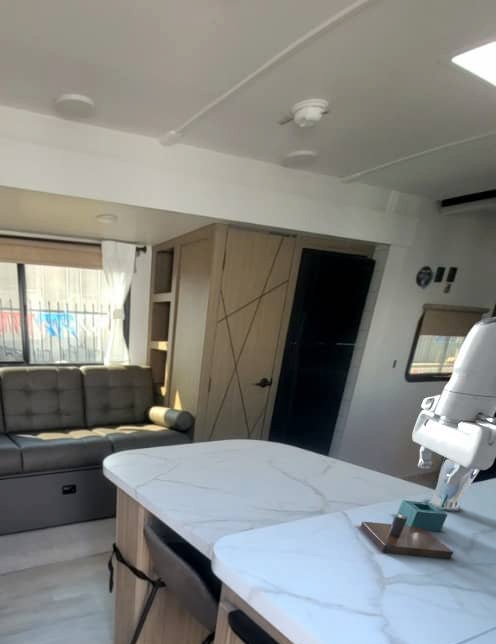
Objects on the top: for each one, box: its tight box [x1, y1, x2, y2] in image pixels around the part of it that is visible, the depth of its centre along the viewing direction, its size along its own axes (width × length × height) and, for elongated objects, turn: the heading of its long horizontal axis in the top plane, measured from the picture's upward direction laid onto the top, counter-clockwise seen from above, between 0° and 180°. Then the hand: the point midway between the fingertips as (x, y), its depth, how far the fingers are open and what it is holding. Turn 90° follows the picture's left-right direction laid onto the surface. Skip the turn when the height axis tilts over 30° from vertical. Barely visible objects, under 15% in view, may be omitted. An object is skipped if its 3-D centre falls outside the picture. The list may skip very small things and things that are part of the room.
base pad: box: [359, 513, 454, 560], centre depth 79 cm, size 12×10×6 cm
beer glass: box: [427, 456, 480, 512], centre depth 95 cm, size 7×7×15 cm
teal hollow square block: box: [396, 499, 448, 532], centre depth 88 cm, size 6×6×4 cm
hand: (435, 475), depth 84 cm, fingers open, 8 cm apart
